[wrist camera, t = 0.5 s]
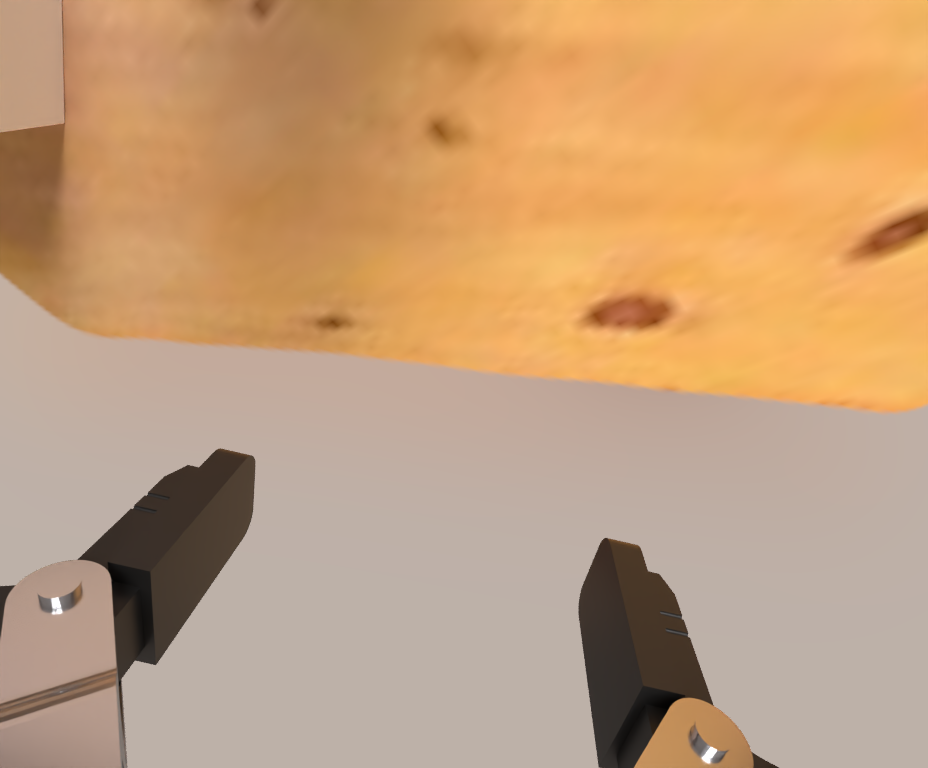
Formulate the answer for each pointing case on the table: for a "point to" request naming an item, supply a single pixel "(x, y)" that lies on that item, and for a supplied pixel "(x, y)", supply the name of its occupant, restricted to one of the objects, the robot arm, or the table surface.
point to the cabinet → (31, 64)
